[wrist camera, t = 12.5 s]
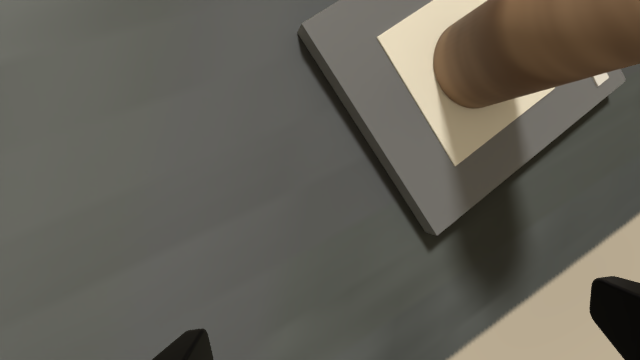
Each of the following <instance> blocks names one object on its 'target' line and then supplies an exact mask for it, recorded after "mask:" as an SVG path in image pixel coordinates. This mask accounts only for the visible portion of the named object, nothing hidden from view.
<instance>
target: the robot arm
mask: <svg viewBox="0 0 640 360" xmlns="http://www.w3.org/2000/svg"><path fill="white" fill-rule="evenodd" d="M590 314H591V316H592V319H593V320H594V322H595V323H596V324H597V325H598V327H599V328H600V329H601V331H602V332H603V333H604V334H605V336H606V337H607V338H608V339H609V341H610V342H611V343H612V344H613V346H614V347H615V348H616V349H617V351H618V352H619V353H620V354H621V355H622V357H623V358H624V359H625V360H640V283H638V282H634V281H630V280H626V279H623V278H619V277H615V276H610V277H603V278H597V279H595V280H594V281H593V283H592V287H591V299H590ZM152 360H213V355H212V351H211V346H210V342H209V338H208V334H207V332H206V330H205V329H195V330H188V331H186V332H185V333H183V334H182V335H181V336H180V337H179V338H177V339H176V340H175V341H174V342H173V343H171V344H170V345H169V346H168V347H167V348H165V349H164V350H163V351H162V352H161V353H159V354H158V355H157V356H156V357H155V358H153V359H152Z"/></svg>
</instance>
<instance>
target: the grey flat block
mask: <svg viewBox="0 0 640 360" xmlns="http://www.w3.org/2000/svg"><path fill="white" fill-rule="evenodd" d="M486 1H487V0H339V1H337V2H336V3H334V4H333V5H331V6H329V7H328V8H326V9H324V10H323V11H321V12H320V13H318V14H316V15H315V16H313V17H311V18H310V19H308V20H307V21H305V22H303V23H302V24H301V26H300V28H299V30H298V32H297V33H298V35H299V36H300V38H301V39H302V41H303V43H304V44H305V46H306V47H307V49H308V50H309V52H310V53H311V55H312V57H313V58H314V60H315V61H316V63H317V64H318V66H319V67H320V69H321V71H322V72H323V74H324V75H325V77H326V78H327V80H328V81H329V83H330V84H331V86H332V88H333V89H334V91H335V92H336V94H337V95H338V97H339V98H340V100H341V102H342V103H343V105H344V106H345V108H346V109H347V111H348V112H349V114H350V116H351V117H352V119H353V120H354V122H355V123H356V125H357V126H358V128H359V130H360V131H361V133H362V134H363V136H364V137H365V139H366V140H367V142H368V144H369V145H370V147H371V148H372V150H373V151H374V153H375V154H376V156H377V158H378V159H379V161H380V162H381V164H382V165H383V167H384V168H385V170H386V172H387V173H388V175H389V176H390V178H391V179H392V181H393V182H394V184H395V186H396V187H397V189H398V190H399V192H400V193H401V195H402V196H403V198H404V200H405V201H406V203H407V204H408V206H409V207H410V209H411V210H412V212H413V214H414V215H415V217H416V218H417V220H418V221H419V223H420V224H421V226H422V228H423V229H424V231H425V232H426V233H430V234H433V235H436V236H438V235H439V234H440V233H441V232H442V231H444V230H445V229H446V228H447V227H448V226H450V225H451V224H452V223H453V222H455V221H456V220H457V219H458V218H459V217H461V216H462V215H463V214H464V213H466V212H467V211H468V210H469V209H470V208H472V207H473V206H474V205H475V204H476V203H478V202H479V201H480V200H481V199H483V198H484V197H485V196H486V195H487V194H489V193H490V192H491V191H492V190H494V189H495V188H496V187H497V186H498V185H500V184H501V183H502V182H503V181H504V180H506V179H507V178H508V177H509V176H511V175H512V174H513V173H514V172H515V171H517V170H518V169H519V168H520V167H521V166H523V165H524V164H525V163H526V162H528V161H529V160H530V159H531V158H532V157H534V156H535V155H536V154H537V153H539V152H540V151H541V150H542V149H543V148H545V147H546V146H547V145H548V144H549V143H551V142H552V141H553V140H554V139H556V138H557V137H558V136H559V135H560V134H562V133H563V132H564V131H565V130H566V129H568V128H569V127H570V126H571V125H573V124H574V123H575V122H576V121H577V120H579V119H580V118H581V117H582V116H584V115H585V114H586V113H587V112H588V111H590V110H591V109H592V108H593V107H594V106H596V105H597V104H598V103H599V102H601V101H602V100H603V99H604V98H605V97H607V96H608V95H609V94H610V93H612V92H613V91H614V90H615V89H616V88H618V87H619V86H620V85H621V84H622V83H624V82H625V81H626V79H625V77H624V75H623V73H622V71H621V69H618V70H614V71H611V72H607V73H604V74H600V75H596V76H593V77H589V78H586V79H582V80H579V81H575V82H572V83H568V84H564V85H561V86H557V87H554V88H550V89H547V90H543V91H540V92H536V93H532V94H529V95H525V96H522V97H518V98H515V99H511V100H508V101H504V102H500V103H497V104H493V105H490V106H486V107H483V108H475V109H472V108H466V107H463V106H460V105H458V104H456V103H455V102H453V101H452V100H451V99H450V98H449V97H448V96H447V95H446V94H445V93H444V92H443V90H442V89H441V87H440V85H439V83H438V81H437V79H436V75H435V72H434V64H433V58H434V50H435V47H436V44H437V41H438V39H439V38H440V36H441V34H442V33H443V32H444V31H445V30H446V29H447V28H448V27H449V26H451V25H452V24H454V23H455V22H457V21H458V20H459V19H461V18H462V17H464V16H465V15H467V14H468V13H470V12H471V11H473V10H474V9H475V8H477V7H478V6H480V5H481V4H483V3H484V2H486Z"/></svg>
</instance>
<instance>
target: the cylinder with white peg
mask: <svg viewBox="0 0 640 360" xmlns="http://www.w3.org/2000/svg"><path fill="white" fill-rule="evenodd" d="M639 63H640V0H487V1H486V2H484V3H483V4H481V5H480V6H478V7H477V8H475V9H474V10H473V11H471V12H470V13H468V14H467V15H465V16H464V17H462V18H461V19H459V20H458V21H457V22H455V23H454V24H452V25H451V26H449V27H448V28H447V29H446V30H445V31H444V32H443V33H442V34H441V36H440V38H439V39H438V41H437V44H436V47H435V50H434V58H433V64H434V72H435V75H436V79H437V81H438V83H439V85H440V87H441V89H442V90H443V92H444V93H445V94H446V95H447V96H448V97H449V98H450V99H451V100H452V101H453V102H455V103H456V104H458V105H460V106H463V107H466V108H472V109H475V108H483V107H486V106H490V105H493V104H497V103H500V102H504V101H508V100H511V99H515V98H518V97H522V96H525V95H529V94H532V93H536V92H540V91H543V90H547V89H550V88H554V87H557V86H561V85H564V84H568V83H572V82H575V81H579V80H582V79H586V78H589V77H593V76H596V75H600V74H604V73H607V72H611V71H614V70H618V69H621V68H625V67H628V66H632V65H636V64H639Z"/></svg>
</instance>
